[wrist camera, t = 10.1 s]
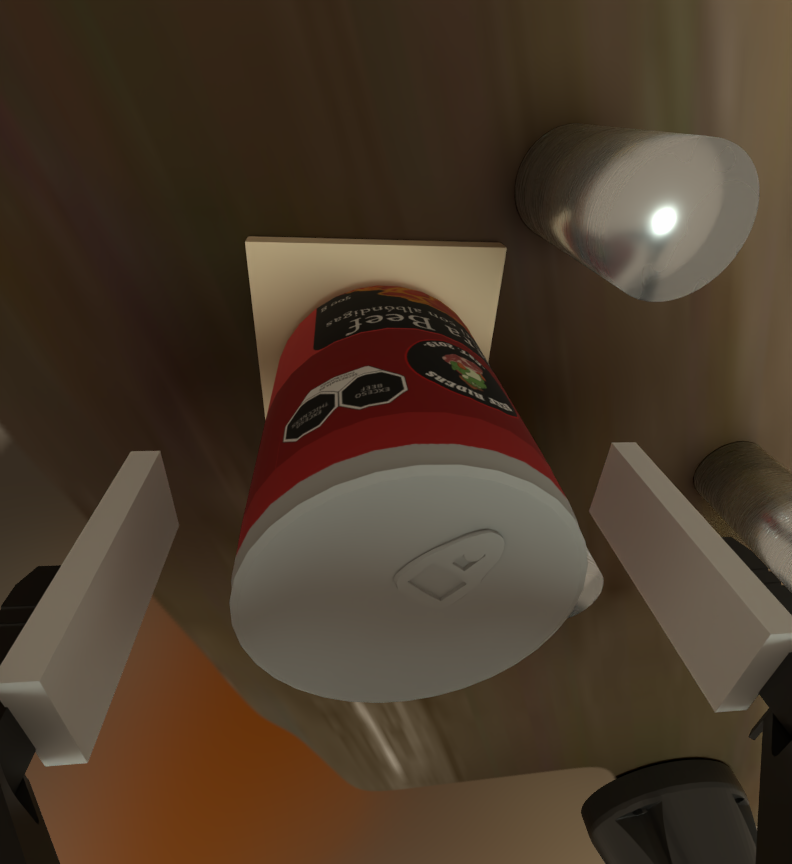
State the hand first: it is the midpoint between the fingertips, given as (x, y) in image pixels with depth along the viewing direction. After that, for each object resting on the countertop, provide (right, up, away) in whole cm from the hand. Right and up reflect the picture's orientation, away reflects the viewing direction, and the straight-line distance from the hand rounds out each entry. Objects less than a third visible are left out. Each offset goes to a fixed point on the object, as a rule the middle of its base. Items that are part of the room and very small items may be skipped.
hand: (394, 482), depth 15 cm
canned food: (-1, +4, +5) cm, 6 cm away
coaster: (-1, +4, +6) cm, 7 cm away
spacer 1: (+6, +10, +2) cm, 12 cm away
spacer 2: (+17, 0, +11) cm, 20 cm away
